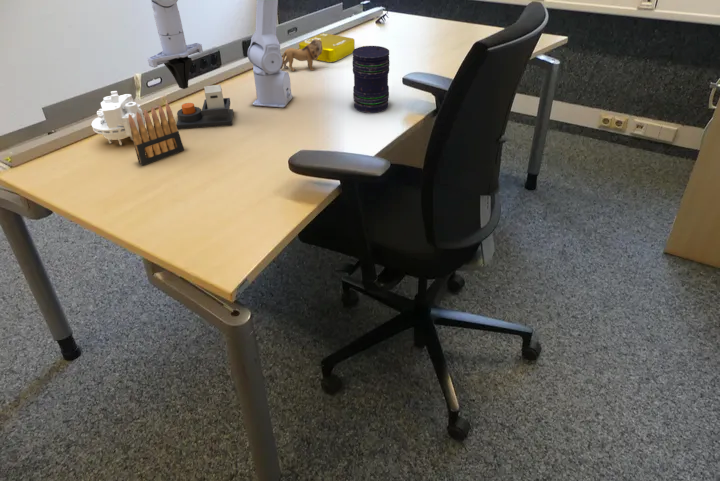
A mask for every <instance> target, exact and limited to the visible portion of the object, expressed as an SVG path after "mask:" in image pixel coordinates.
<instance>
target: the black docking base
mask: <svg viewBox="0 0 720 481" xmlns="http://www.w3.org/2000/svg"><path fill="white" fill-rule="evenodd" d="M195 111H196V112H195V113H193V114H183V110H182V108H180V109H179V110H177V112H176V115H177V120H176V126H177V130H183V129H198V128H199V129H200V128H212V127H226V126H227V127H228V126H232V125H233V120H234V113H235V112H234V109H233V108H230V109H229V114H223V115H209V116H203V114H202V108H200V107H199V106H195Z"/></svg>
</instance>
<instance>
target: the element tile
mask: <svg viewBox="0 0 720 481" xmlns="http://www.w3.org/2000/svg"><path fill="white" fill-rule="evenodd" d="M314 39H318V40H320V41H322V48H323V49H322V52H321V54H320V55H319V56H318V58H317V59H316V60H315V61H321V62H325V63H335V62H337V61H340V60H342V59H344V58H345V57H347V56H350V55H352V54H353V50H354V49H356V48H355V47H356V45H355V39H354V38H352V37H348V36H342V35H336V34H330V33H324V32H321V33H319V34H317V35H314V36H312V37H309V38H307V39H304V40H302V41H300V42H299V43H298V49H303V48H304V47H305V46H307V45H308V44H310V43H311V41H312V40H314Z"/></svg>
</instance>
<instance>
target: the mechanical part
mask: <svg viewBox="0 0 720 481" xmlns="http://www.w3.org/2000/svg"><path fill="white" fill-rule="evenodd" d="M102 99H103V100H102V101H101V102H100V108H99V109H98V110H97V111H96V116H97V117H96V118H94V119H93V120H92V121H91V128H92V130H93V132H94V133H96V134H99V135H102V136H103V137H104V139H106V140H107V141H108V143H109V144H112V143H113V142H112V141H116V140H117V141H118V144H119V146H122V145H123V142H122V140H124V139H127V138H129V137H130V141H133V138H132V135H131V129H130V125H129V119H128V116H129V114H130V115H131V116H132V118H133V120H134V122H135V125H136V127H137V130H138V132H139V127H138V123H137V118H136V113H137V112H138V113H139V114H140V116H141V118H142V120H143V123H144V126H145V127H146V122H145V118H144V111H143V110H142V106H141V104H140V103H137V102H136V101H134V99H133V95H132V94H131V93H125V94H121V95H119V93H118V90H112V91H110V95H107V96H104V97H102ZM139 134H140V133H139Z"/></svg>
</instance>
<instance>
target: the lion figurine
mask: <svg viewBox="0 0 720 481" xmlns="http://www.w3.org/2000/svg"><path fill="white" fill-rule="evenodd" d="M322 49H323V48H322V41H320V40H318V39H314V40H312V41H311V43H310V44H308V45H307V46H305V47H304V48H303V49H299V48H294V47H290V48H287V49H285V50H284V52H283V55H282V60H283V62H282V66H281V68H280V70H282V69H288V68H289V69H290V70H291V72H296V69H295V68H293V62H294V59H295V60H296V61H299V62H306V63H307V67H308V69H309V70H310V71H315V67H313V65H314V64H313V63H314V61H317V60H316V59H317V58H318V56H319V55H320V54H321V52H322ZM287 64H288V65H287Z"/></svg>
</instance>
